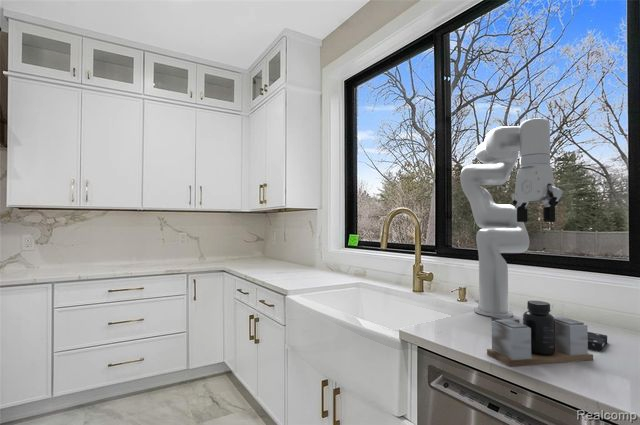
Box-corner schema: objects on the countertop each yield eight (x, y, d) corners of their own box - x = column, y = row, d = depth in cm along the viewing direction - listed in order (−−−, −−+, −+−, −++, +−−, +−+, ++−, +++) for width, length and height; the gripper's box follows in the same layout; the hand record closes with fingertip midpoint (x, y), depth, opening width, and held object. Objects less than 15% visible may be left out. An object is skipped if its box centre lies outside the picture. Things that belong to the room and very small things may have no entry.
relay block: (491, 333, 106) (491, 316, 106) (499, 331, 108) (499, 314, 108) (511, 339, 101) (511, 321, 101) (519, 336, 103) (519, 319, 103)
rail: (486, 353, 88) (486, 319, 89) (564, 348, 93) (563, 315, 94) (510, 366, 81) (510, 328, 81) (593, 359, 85) (592, 323, 86)
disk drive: (607, 345, 98) (545, 332, 109) (607, 335, 98) (545, 323, 109) (602, 354, 91) (536, 339, 101) (602, 343, 91) (536, 329, 101)
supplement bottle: (516, 348, 89) (516, 300, 90) (535, 345, 92) (535, 298, 92) (541, 358, 83) (541, 306, 83) (562, 354, 85) (561, 304, 86)
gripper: (502, 166, 110) (502, 221, 110) (548, 156, 93) (549, 221, 93) (522, 167, 112) (523, 222, 111) (572, 158, 95) (573, 222, 94)
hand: (535, 221), depth 102 cm, fingers open, 9 cm apart
